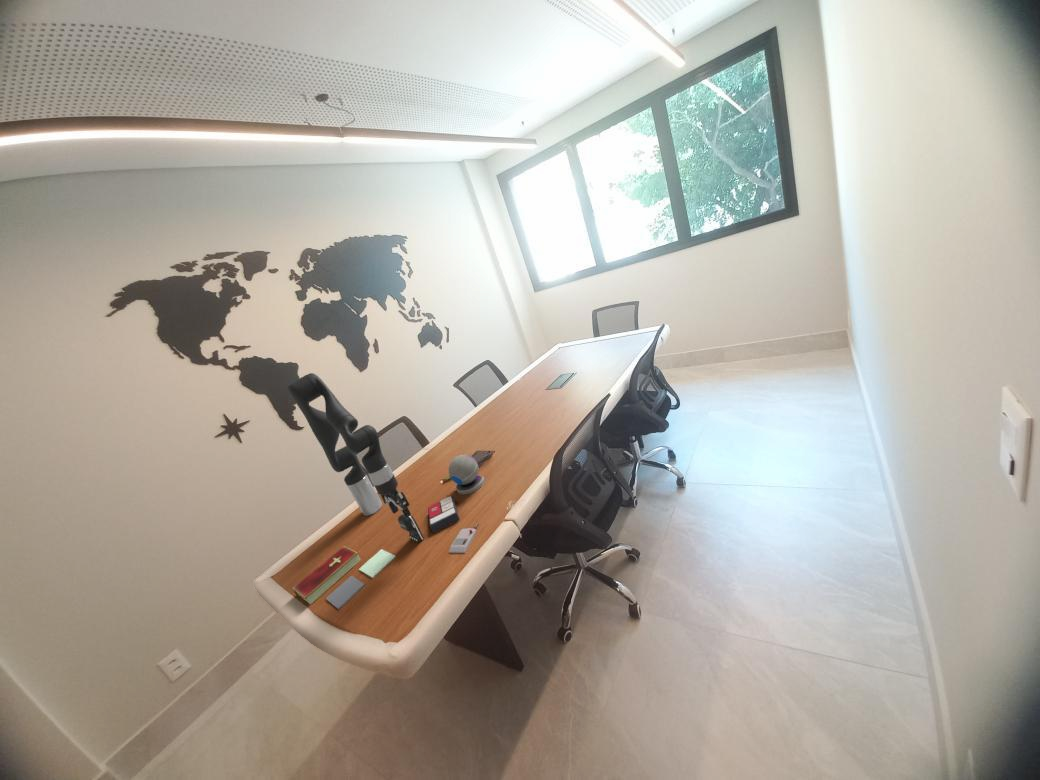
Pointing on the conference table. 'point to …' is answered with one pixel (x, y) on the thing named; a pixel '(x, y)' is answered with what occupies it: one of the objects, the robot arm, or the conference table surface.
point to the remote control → (463, 540)
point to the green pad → (377, 563)
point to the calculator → (442, 514)
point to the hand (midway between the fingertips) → (402, 514)
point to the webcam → (465, 474)
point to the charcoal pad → (345, 592)
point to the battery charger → (411, 528)
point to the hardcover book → (326, 574)
